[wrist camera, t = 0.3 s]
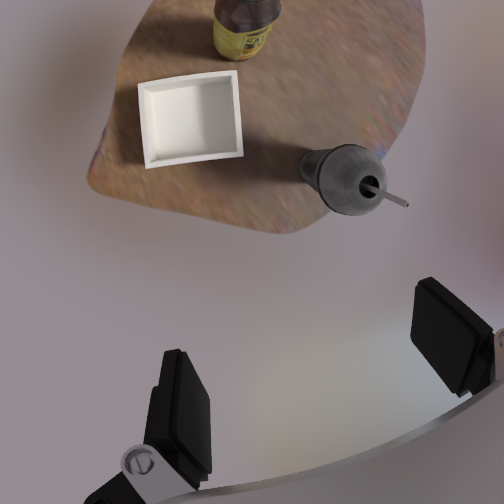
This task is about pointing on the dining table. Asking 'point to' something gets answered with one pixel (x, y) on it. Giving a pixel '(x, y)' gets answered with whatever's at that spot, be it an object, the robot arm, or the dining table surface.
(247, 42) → the sauce bottle
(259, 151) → the dining table surface
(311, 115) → the dining table surface
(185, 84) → the box
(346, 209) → the beverage cup
